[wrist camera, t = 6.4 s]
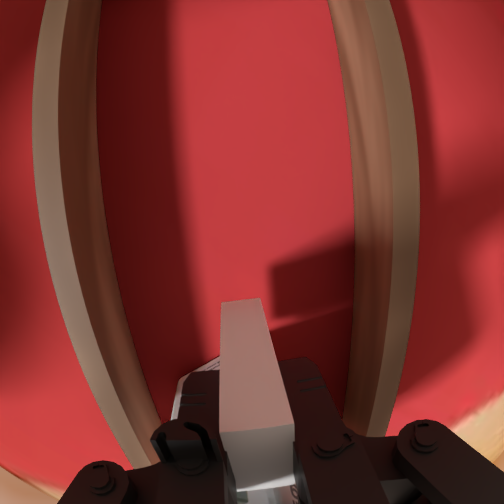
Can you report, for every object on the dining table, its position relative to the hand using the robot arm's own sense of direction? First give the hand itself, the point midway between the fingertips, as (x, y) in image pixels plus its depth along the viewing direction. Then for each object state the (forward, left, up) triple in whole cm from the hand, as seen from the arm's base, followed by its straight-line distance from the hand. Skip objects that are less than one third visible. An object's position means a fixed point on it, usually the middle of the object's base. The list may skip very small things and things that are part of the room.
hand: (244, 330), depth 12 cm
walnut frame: (0, +5, -2) cm, 5 cm away
